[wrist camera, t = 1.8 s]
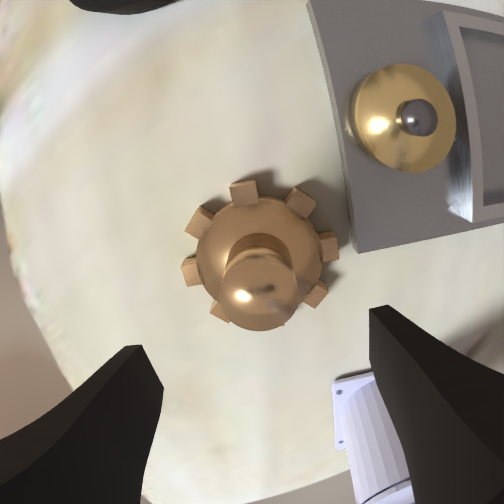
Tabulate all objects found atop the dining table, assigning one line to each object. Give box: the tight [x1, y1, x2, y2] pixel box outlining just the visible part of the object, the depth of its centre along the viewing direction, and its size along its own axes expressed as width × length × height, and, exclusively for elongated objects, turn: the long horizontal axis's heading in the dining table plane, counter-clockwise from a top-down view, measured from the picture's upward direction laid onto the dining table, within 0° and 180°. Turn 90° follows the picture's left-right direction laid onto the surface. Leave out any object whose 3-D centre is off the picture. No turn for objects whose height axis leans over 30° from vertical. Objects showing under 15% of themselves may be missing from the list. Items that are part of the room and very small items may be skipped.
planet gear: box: [181, 179, 339, 331], centre depth 15 cm, size 8×8×4 cm
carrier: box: [307, 0, 504, 254], centre depth 11 cm, size 13×18×4 cm
